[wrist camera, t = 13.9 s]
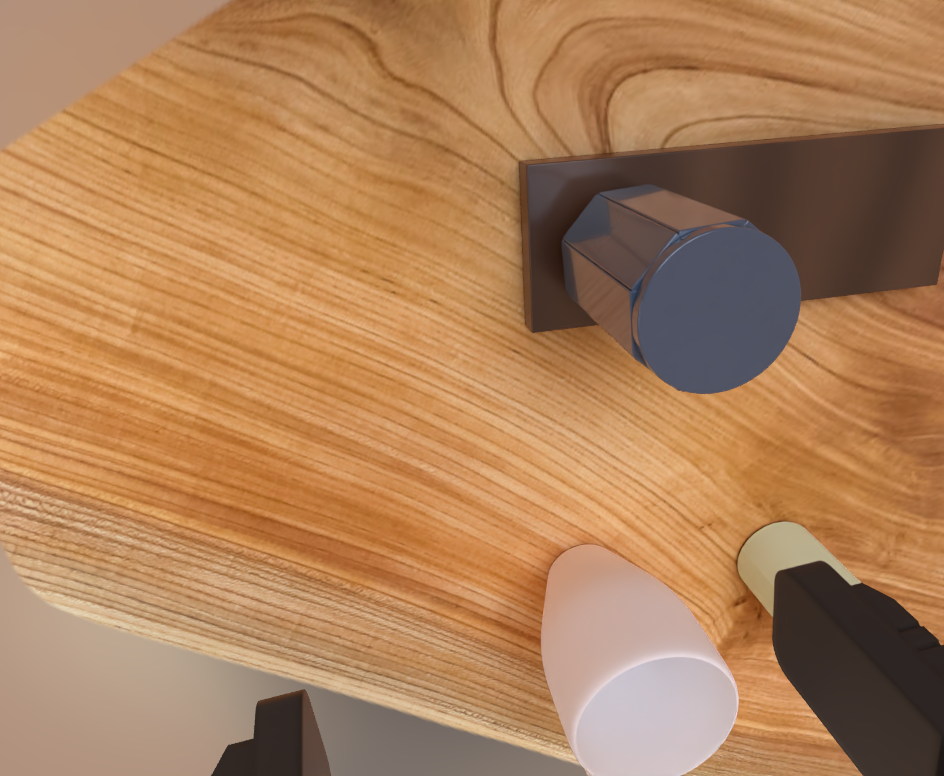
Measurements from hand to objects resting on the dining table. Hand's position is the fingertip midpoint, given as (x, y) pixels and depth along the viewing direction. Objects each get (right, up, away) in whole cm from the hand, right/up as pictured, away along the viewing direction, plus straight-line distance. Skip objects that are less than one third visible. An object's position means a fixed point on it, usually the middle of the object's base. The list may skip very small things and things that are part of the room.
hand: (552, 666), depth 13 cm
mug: (+5, -8, +34) cm, 35 cm away
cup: (+6, +11, +22) cm, 25 cm away
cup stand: (+12, +13, +26) cm, 31 cm away
